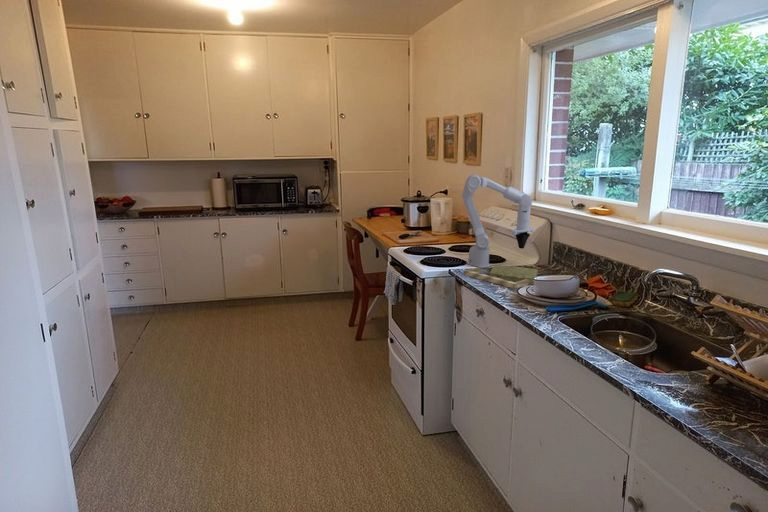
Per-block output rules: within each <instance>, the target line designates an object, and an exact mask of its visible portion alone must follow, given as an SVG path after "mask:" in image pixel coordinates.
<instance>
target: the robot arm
mask: <svg viewBox="0 0 768 512" xmlns="http://www.w3.org/2000/svg"><path fill="white" fill-rule="evenodd" d="M463 186H464V187H463V190H462V193H461V197H462V201H463V203H464V206H465V209H466V212H467V215H468V218H469V220H470V224H471V226H472V229H473V232H474V236H475V245H473V246H471V247H470V248H469V250H468V251H469V252H468V263H467V265H469V266H473V267H476V268H477V267H479V268H481V269H484V268H487V267H491V266H492V267H493V264H492V263H490V239H489V235H488V233H486V232H485V229H484V226H483V223H482V221H481V218H480V215H479V212H478V209H477V206H476V203H475V200H474V198H473V196H474V194H475V192H476V191H477V190H478V189H479V188H480V187H481V188H489V189H492V190H493V191H496V192H498V193H500V194H502V196H503V198H504V199H506V200H508V201H510V202H512V203H515V204H518V209H517V217H516V219H517V220H516V228H515V229H513V230H511V235H513V236H515V239H516V241H517V245H518V249H525V246H526V244H527V242H528V239H529V238H530V236H531V233H533V232H534V227H530V225H531V224H530V222H531V221H530V220H531V206H532V204H533V200H532V199H533V198H532V197H531V196H530V195H529V194H527V193H525V192H524V191H520V190H518V189H516V187H515V186H510V185H509V186H507V187H505V186H503V185H501V184H500V183H498V182H495V181H493V180H492V179H490V178H488V177H484V176H481V175H480V176H479V175H478V174H476V173H475V174H474V173H473V174H471V175H469V176H468V177H467V179H466V180H465V183H464V185H463Z"/></svg>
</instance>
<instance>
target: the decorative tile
mask: <svg viewBox="0 0 768 512" xmlns="http://www.w3.org/2000/svg"><path fill="white" fill-rule="evenodd" d="M488 276H492V277H496V278H500V279H503V280H507V281H511V282H518V281H521V280H524V279H528V280H529V284H528V285H534V284H533V280H534V278H535V277H538V269H537V268H528V267H520V266H519V267H518V266H509V265H500V264H495V265H492V267H491V269H490V272H489V275H488Z"/></svg>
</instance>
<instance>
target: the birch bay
mask: <svg viewBox="0 0 768 512" xmlns="http://www.w3.org/2000/svg"><path fill="white" fill-rule="evenodd" d="M481 271H482V268H481V267H477V266H476V267H473V268H470V269H465V270H464V271H463V276H466V277H470V278H474V279H478V280H480V281H485V282H488V283H491V284H495V285H496V284H497V285H499V286H503V287H506V288H511V289H513V290H515V289H518V288H522V287H525V286H527V285H530V284H529V280H528V279H524V280H521V281H518V282H511V281H507V280H503V279H500V278H496V277H492V276H489V275H487V274H484V273H481Z"/></svg>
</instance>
